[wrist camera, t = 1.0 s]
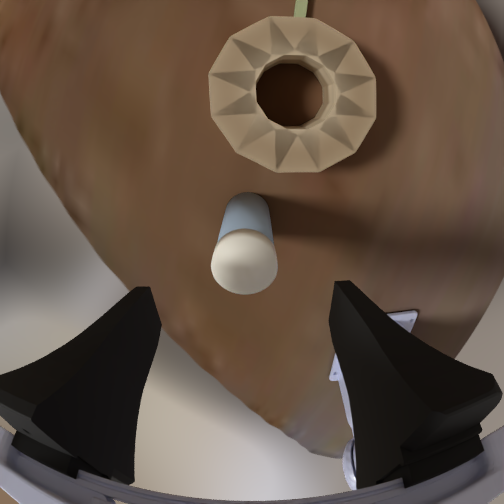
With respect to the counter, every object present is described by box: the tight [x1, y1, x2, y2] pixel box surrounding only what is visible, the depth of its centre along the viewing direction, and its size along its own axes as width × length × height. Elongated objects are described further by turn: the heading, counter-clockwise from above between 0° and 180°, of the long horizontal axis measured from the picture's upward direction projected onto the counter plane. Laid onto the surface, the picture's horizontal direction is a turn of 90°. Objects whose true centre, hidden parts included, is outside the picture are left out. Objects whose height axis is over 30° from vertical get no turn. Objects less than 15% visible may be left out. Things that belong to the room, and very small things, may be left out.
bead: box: [208, 16, 376, 173], centre depth 14 cm, size 9×9×3 cm
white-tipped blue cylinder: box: [211, 192, 278, 294], centre depth 16 cm, size 3×3×7 cm
